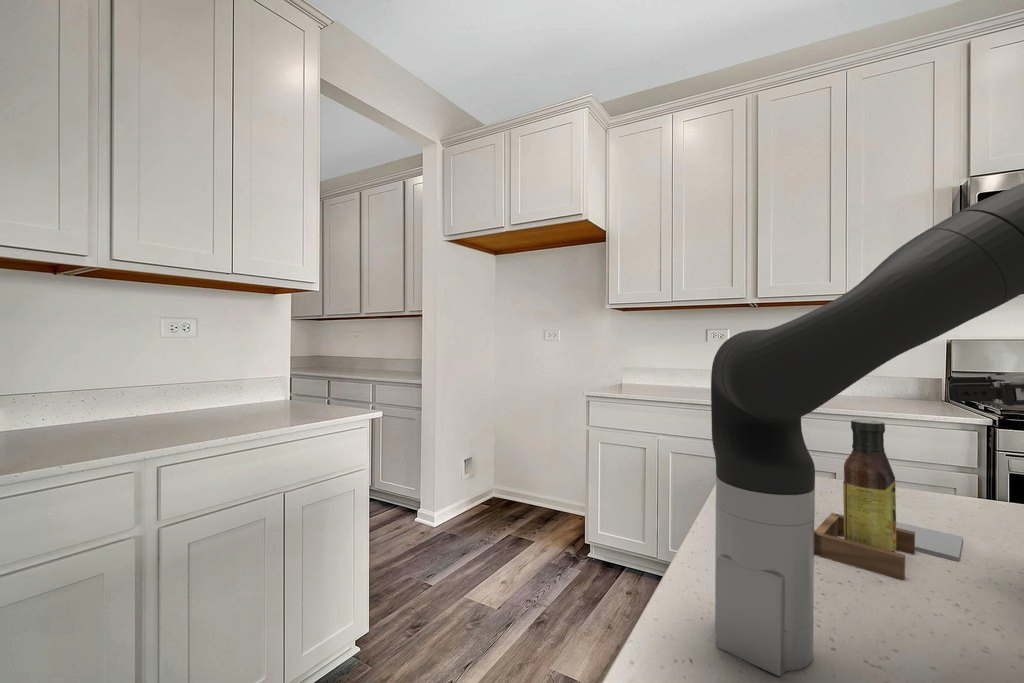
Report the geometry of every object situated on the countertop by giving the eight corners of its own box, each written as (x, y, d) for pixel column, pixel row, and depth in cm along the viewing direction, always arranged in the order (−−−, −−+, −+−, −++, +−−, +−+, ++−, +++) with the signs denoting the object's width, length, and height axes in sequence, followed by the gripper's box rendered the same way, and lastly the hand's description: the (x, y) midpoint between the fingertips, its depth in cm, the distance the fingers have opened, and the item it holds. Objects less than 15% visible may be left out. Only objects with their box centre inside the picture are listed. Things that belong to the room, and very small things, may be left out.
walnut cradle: (903, 580, 63) (903, 557, 63) (811, 553, 70) (812, 533, 70) (914, 551, 71) (915, 532, 71) (831, 530, 78) (831, 512, 78)
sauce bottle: (906, 566, 66) (907, 426, 66) (856, 562, 68) (857, 424, 67) (879, 546, 73) (881, 418, 72) (834, 542, 74) (836, 416, 74)
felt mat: (958, 561, 68) (958, 557, 68) (880, 541, 74) (880, 537, 74) (962, 540, 75) (962, 536, 75) (890, 524, 81) (890, 520, 81)
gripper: (1123, 349, 58) (946, 357, 69) (1163, 357, 48) (947, 365, 59) (1131, 410, 58) (952, 408, 69) (1173, 430, 48) (954, 425, 59)
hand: (950, 388), depth 64 cm, fingers open, 8 cm apart
